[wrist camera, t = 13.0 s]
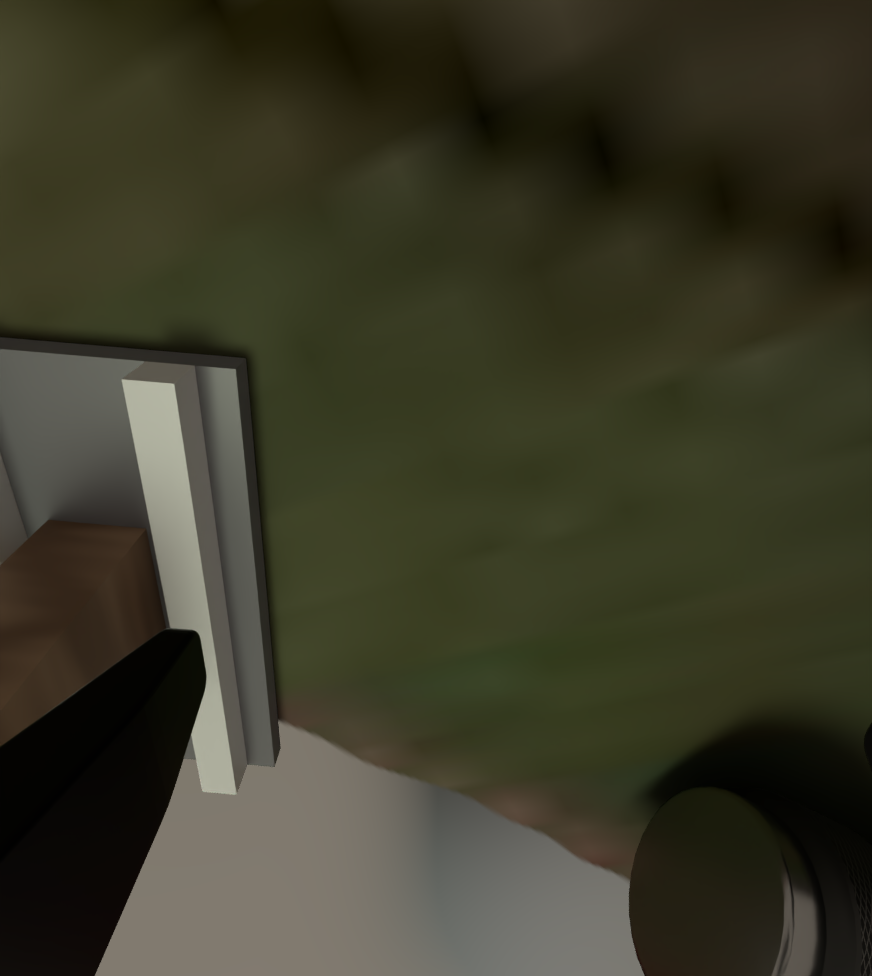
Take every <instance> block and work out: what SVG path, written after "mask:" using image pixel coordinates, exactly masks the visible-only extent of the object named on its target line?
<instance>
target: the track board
mask: <svg viewBox="0 0 872 976" xmlns="http://www.w3.org/2000/svg"><path fill="white" fill-rule="evenodd" d="M48 520H56V521H67V522H78V523H90V524H101V525H112V526H124V527H135V528H146V530H147V535H148V540H149V545H150V550H151V555H152V560H153V565H154V570H155V575H156V580H157V585H158V590H159V595H160V600H161V605H162V610H163V615H164V620H165V625H166V628H177V629H189V630H194V631H196V632H198V634H199V636H200V639H201V644H202V650H203V656H204V662H205V668H206V675H207V680H206V687H205V692H204V695H203V699H202V702H201V705H200V708H199V711H198V714H197V718H196V721H195V724H194V727H193V730H192V733H191V737H190V740H189V743H188V746H187V749H186V753H185V756H184V758H185V759H196V761H197V767H198V772H199V777H200V782H201V787H202V791H203V792H212V793H223V794H234V795H236V794H237V792H238V789H239V786H240V784H241V781H242V778H243V775H244V772H245V769H246V767H247V764H249V765H260V766H270V767H271V766H272V767H275V763H276V761H277V757H278V754H279V751H280V738H279V726H278V715H277V704H276V692H275V681H274V669H273V658H272V647H271V635H270V624H269V613H268V601H267V590H266V579H265V567H264V556H263V545H262V533H261V522H260V511H259V499H258V488H257V477H256V465H255V454H254V443H253V431H252V420H251V409H250V397H249V386H248V375H247V363H246V358H238V357H227V356H215V355H203V354H191V353H180V352H168V351H156V350H144V349H133V348H121V347H109V346H98V345H86V344H74V343H62V342H51V341H39V340H27V339H16V338H4V337H0V565H1V564H2V563H3V562H4V561H5V560H6V559H7V558H8V557H9V556H11V555H12V554H13V553H14V552H15V551H16V550H17V549H18V548H19V547H20V546H21V545H22V544H23V543H24V542H25V541H26V540H27V539H29V538H30V537H31V536H32V535H33V534H34V533H35V532H36V531H37V530H38V529H39V528H40V527H41V526H42V525H43V524H44V523H45V522H46V521H48Z"/></svg>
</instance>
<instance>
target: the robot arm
mask: <svg viewBox="0 0 872 976" xmlns="http://www.w3.org/2000/svg"><path fill="white" fill-rule="evenodd" d="M206 680H207V675H206V668H205V662H204V656H203V650H202V644H201V639H200V636H199V634H198V632H196V631H194V630H189V629H177V628H166V629H164V630H162V631H160V632H159V633H157V634H156V635H154V636H153V637H152V638H150V639H149V640H147V641H146V642H145V643H143V644H142V645H140V646H139V647H138V648H136V649H135V650H134V651H132V652H131V653H129V654H128V655H127V656H125V657H124V658H122V659H121V660H120V661H118V662H117V663H115V664H114V665H113V666H111V667H110V668H108V669H107V670H106V671H104V672H103V673H102V674H100V675H99V676H97V677H96V678H95V679H93V680H92V681H90V682H89V683H88V684H86V685H85V686H83V687H82V688H81V689H79V690H78V691H76V692H75V693H74V694H72V695H71V696H69V697H68V698H67V699H65V700H64V701H63V702H61V703H60V704H58V705H57V706H56V707H54V708H53V709H51V710H50V711H49V712H47V713H46V714H44V715H43V716H42V717H40V718H39V719H37V720H36V721H35V722H33V723H32V724H31V725H29V726H28V727H26V728H25V729H24V730H22V731H21V732H19V733H18V734H17V735H15V736H14V737H12V738H11V739H10V740H8V741H7V742H5V743H4V744H3V745H1V746H0V976H95V974H96V971H97V969H98V967H99V964H100V962H101V960H102V958H103V955H104V953H105V951H106V948H107V946H108V944H109V942H110V939H111V937H112V935H113V932H114V930H115V928H116V926H117V923H118V921H119V919H120V916H121V914H122V911H123V910H124V907H125V905H126V903H127V900H128V898H129V896H130V893H131V891H132V889H133V887H134V884H135V882H136V879H137V877H138V875H139V873H140V870H141V868H142V866H143V864H144V861H145V859H146V857H147V854H148V852H149V850H150V848H151V845H152V843H153V841H154V838H155V836H156V834H157V831H158V829H159V827H160V825H161V822H162V820H163V817H164V815H165V812H166V810H167V807H168V805H169V802H170V799H171V796H172V793H173V790H174V787H175V784H176V781H177V778H178V775H179V771H180V768H181V765H182V762H183V759H184V756H185V753H186V749H187V746H188V743H189V740H190V737H191V733H192V730H193V727H194V724H195V721H196V718H197V714H198V711H199V708H200V705H201V702H202V699H203V695H204V692H205V687H206ZM864 748H865V753H866V756H867V759H868V762H869V765H870V768H871V771H872V723H871V725H870V727H869V728H868V730H867V732H866V734H865V738H864Z"/></svg>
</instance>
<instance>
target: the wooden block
mask: <svg viewBox="0 0 872 976" xmlns="http://www.w3.org/2000/svg"><path fill="white" fill-rule="evenodd" d="M164 629H166V625H165V620H164V615H163V610H162V605H161V600H160V595H159V590H158V585H157V580H156V575H155V570H154V565H153V560H152V555H151V550H150V545H149V540H148V535H147V530H146V528H135V527H124V526H112V525H101V524H90V523H78V522H67V521H56V520H48V521H46V522H45V523H44V524H43V525H42V526H41V527H40V528H39V529H38V530H37V531H36V532H35V533H34V534H33V535H32V536H31V537H30V538H29V539H27V540H26V541H25V542H24V543H23V544H22V545H21V546H20V547H19V548H18V549H17V550H16V551H15V552H14V553H13V554H12V555H11V556H9V557H8V558H7V559H6V560H5V561H4V562H3V563H2V564H1V565H0V746H1V745H3V744H4V743H5V742H7V741H8V740H10V739H11V738H12V737H14V736H15V735H17V734H18V733H19V732H21V731H22V730H24V729H25V728H26V727H28V726H29V725H31V724H32V723H33V722H35V721H36V720H37V719H39V718H40V717H42V716H43V715H44V714H46V713H47V712H49V711H50V710H51V709H53V708H54V707H56V706H57V705H58V704H60V703H61V702H63V701H64V700H65V699H67V698H68V697H69V696H71V695H72V694H74V693H75V692H76V691H78V690H79V689H81V688H82V687H83V686H85V685H86V684H88V683H89V682H90V681H92V680H93V679H95V678H96V677H97V676H99V675H100V674H102V673H103V672H104V671H106V670H107V669H108V668H110V667H111V666H113V665H114V664H115V663H117V662H118V661H120V660H121V659H122V658H124V657H125V656H127V655H128V654H129V653H131V652H132V651H134V650H135V649H136V648H138V647H139V646H140V645H142V644H143V643H145V642H146V641H147V640H149V639H150V638H152V637H153V636H154V635H156V634H157V633H159V632H160V631H162V630H164Z"/></svg>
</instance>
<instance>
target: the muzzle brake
mask: <svg viewBox="0 0 872 976" xmlns="http://www.w3.org/2000/svg"><path fill="white" fill-rule="evenodd" d="M629 918H630V926H631V934H632V938H633V943H634V947H635V951H636V955H637V958H638V961H639V963H640V966H641V968H642V971H643V973H644V975H645V976H872V845H871V844H870V843H869V842H867V841H866V840H865V839H863V838H862V837H861V836H859V835H858V834H857V833H855V832H854V831H853V830H851V829H849V828H847V827H845V826H843V825H841V824H839V823H837V822H835V821H833V820H831V819H829V818H827V817H825V816H823V815H821V814H819V813H817V812H815V811H813V810H811V809H809V808H807V807H804V806H802V805H800V804H798V803H796V802H794V801H792V800H790V799H788V798H786V797H784V796H782V795H780V794H778V793H776V792H772V791H768V790H764V789H760V788H732V789H727V790H726V789H722V788H718V787H714V786H706V787H694V788H691V789H687V790H683V791H682V792H680V793H678V794H676V795H674V796H673V797H671V798H670V799H669V800H668V801H667V802H666V803H664V804H663V805H662V806H661V807H660V808H659V810H658V811H657V812H656V814H655V815H654V816H653V818H652V819H651V820H650V822H649V824H648V826H647V828H646V830H645V832H644V834H643V835H642V838H641V841H640V843H639V846H638V849H637V851H636V854H635V859H634V863H633V867H632V872H631V879H630V888H629Z"/></svg>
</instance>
